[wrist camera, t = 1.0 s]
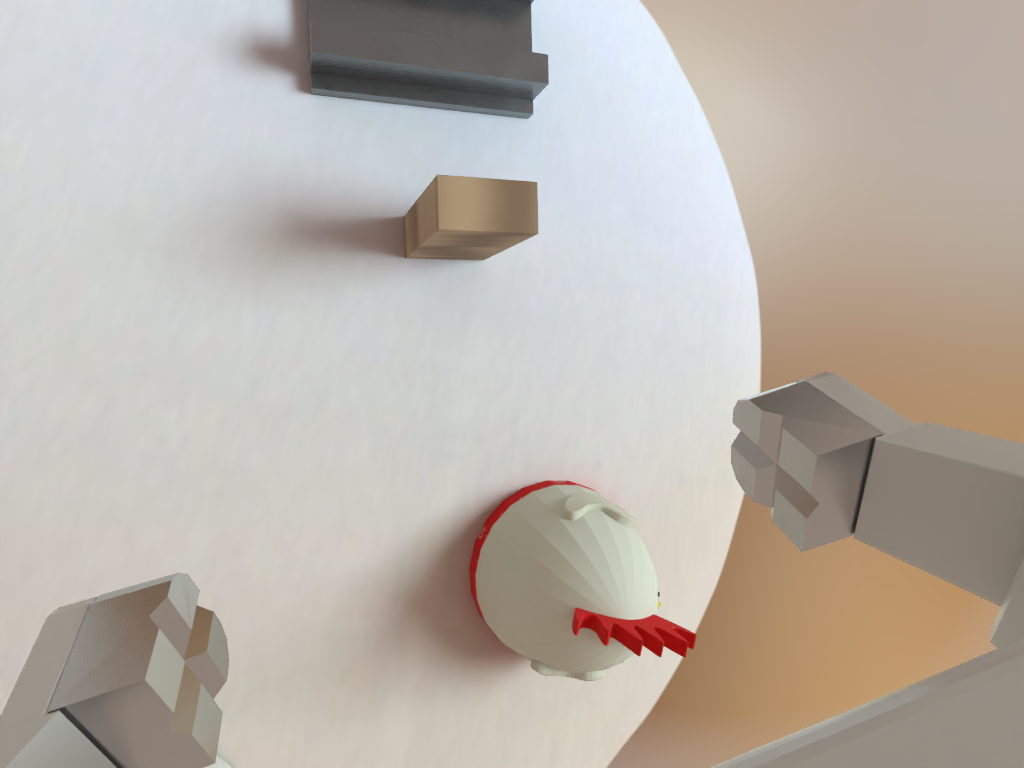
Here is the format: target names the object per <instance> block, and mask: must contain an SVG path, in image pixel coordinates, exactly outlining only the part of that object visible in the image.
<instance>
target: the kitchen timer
mask: <svg viewBox="0 0 1024 768" xmlns="http://www.w3.org/2000/svg"><path fill="white" fill-rule="evenodd" d="M636 522H637V520H636V519H635V518H634V517H633V516H631V515H630V514H629V513H628V512H626V511H625V510H624V509H622V508H621V507H619V506H618V505H616V504H615V503H613V502H611V501H610V500H608V499H606V498H605V497H604V496H603V495H601V494H600V493H598V492H597V491H595V490H593V489H590V488H588V487H585V486H582V485H579V484H576V483H573V482H570V481H544V482H541V483H537V484H534V485H531V486H528V487H524V488H523V489H521V490H520V491H518V492H517V493H515V494H513V495H512V496H510V497H509V498H507V499H506V500H504V501H503V502H502V503H501V504H500V506H499V507H498V508H497V509H496V510H495V511H494V512H493V513H492V514H491V516H490V517H489V518H488V519H487V520H486V522H485V524H484V526H483V528H482V530H481V532H480V534H479V536H478V538H477V540H476V542H475V545H474V550H473V555H472V559H471V564H470V579H471V592H472V595H473V598H474V600H475V603H476V606H477V608H478V611H479V613H480V615H481V617H482V618H483V619H484V621H485V622H486V624H487V625H488V626H489V627H490V629H491V630H492V631H493V632H494V633H495V635H496V636H497V637H498V638H499V640H500V641H501V642H502V643H503V644H505V645H506V646H507V647H509V648H511V649H512V650H514V651H515V652H517V653H519V654H520V655H522V656H524V657H525V658H527V659H529V660H531V661H532V662H531V667H532V669H534V670H535V671H536V672H538V673H540V674H542V675H546V676H565V677H571V678H575V679H580V680H584V681H594V680H598V679H600V678H602V677H603V676H604V674H605V669H608V668H610V667H612V666H615V665H617V664H620V663H622V662H624V661H625V660H626V659H628V658H629V657H630V656H631V655H633V654H634V653H635V654H636V655H638V656H640V655H641V650H642V645H643V646H645V647H646V648H647V649H649V650H650V651H652V652H653V653H654V654H656V655H657V656H659V657H661V655H662V650H663V646H665V647H667V648H668V649H670V650H672V651H674V652H675V653H677V654H679V655H681V656H683V657H686V653H687V648H688V647H689V648H691V649H694V644H695V640H696V634H694V633H692V632H691V631H689V630H687V629H685V628H683V627H680V626H678V625H676V624H674V623H672V622H670V621H667V620H665V619H663V618H661V617H659V616H657V615H656V613H657V610H658V608H659V607H660V605H661V603H660V602H659V601H658V597H659V592H658V580H657V575H656V571H655V568H654V565H653V562H652V559H651V556H650V553H649V551H648V548H647V547H646V545H645V543H644V542H643V540H642V539H641V537H640V536H639V534H638V533H637V531H636V530H635V528H634V527H633V525H634V524H635V523H636Z"/></svg>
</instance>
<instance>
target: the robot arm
mask: <svg viewBox="0 0 1024 768" xmlns="http://www.w3.org/2000/svg"><path fill="white" fill-rule="evenodd" d="M733 423H734V425H735V426H736V427H737V428H738V429H739V430H740V433H739V434H738V436H737V437H736V439H735V440H734V442H733V443H732V445H731V464H732V467H733V470H734V473H735V476H736V479H737V481H738V482H739V484H740V486H741V487H742V489H743V491H744V492H745V493H746V494H747V495H748V496H749V497H750V498H751V499H752V500H753V501H754V502H756V503H759V504H762V505H765V506H768V507H770V508H772V521H773V523H774V524H775V525H776V526H778V528H779V529H780V530H781V531H782V532H783V533H784V534H785V535H786V536H787V537H788V538H789V539H790V540H791V541H792V542H793V543H794V544H795V545H796V546H797V548H798V549H799V550H800V551H801V552H804V551H807V550H810V549H813V548H816V547H819V546H822V545H825V544H828V543H831V542H834V541H837V540H840V539H843V538H846V537H849V536H852V535H854V538H855V539H857V540H859V541H861V542H863V543H865V544H867V545H870V546H872V547H874V548H876V549H878V550H880V551H882V552H885V553H887V554H889V555H891V556H893V557H895V558H898V559H900V560H902V561H904V562H906V563H908V564H911V565H913V566H915V567H917V568H919V569H921V570H923V571H925V572H928V573H930V574H932V575H934V576H937V577H939V578H941V579H943V580H945V581H947V582H949V583H951V584H954V585H956V586H958V587H960V588H962V589H964V590H966V591H969V592H971V593H973V594H975V595H977V596H979V597H981V598H984V599H986V600H988V601H990V602H992V603H994V604H997V605H999V606H1001V609H1000V611H999V614H998V616H997V618H996V620H995V622H994V625H993V627H992V629H991V643H992V644H993V645H995V646H996V647H997V648H998V649H996V650H993V651H991V652H989V653H986V654H984V655H982V656H979V657H977V658H974V659H972V660H969V661H967V662H965V663H962V664H960V665H957V666H955V667H952V668H950V669H947V670H945V671H943V672H940V673H938V674H935V675H933V676H930V677H928V678H926V679H923V680H921V681H919V682H916V683H914V684H911V685H909V686H907V687H904V688H901V689H899V690H897V691H894V692H892V693H889V694H887V695H885V696H882V697H880V698H877V699H875V700H873V701H870V702H868V703H865V704H863V705H861V706H858V707H855V708H853V709H851V710H848V711H846V712H843V713H841V714H839V715H836V716H834V717H831V718H829V719H826V720H824V721H822V722H819V723H817V724H814V725H812V726H809V727H807V728H805V729H802V730H800V731H797V732H795V733H792V734H790V735H788V736H785V737H783V738H780V739H778V740H776V741H773V742H771V743H768V744H766V745H763V746H761V747H759V748H756V749H754V750H752V751H749V752H747V753H744V754H742V755H739V756H737V757H734V758H732V759H730V760H727V761H725V762H722V763H720V764H718V765H715V766H713V767H710V768H1024V444H1023V443H1019V442H1014V441H1010V440H1005V439H1001V438H996V437H992V436H987V435H982V434H978V433H974V432H970V431H965V430H961V429H956V428H952V427H947V426H943V425H938V424H934V423H929V422H923V423H920V424H917V425H916V424H915V423H913V422H912V421H910V420H909V419H907V418H905V417H904V416H902V415H901V414H899V413H898V412H896V411H894V410H893V409H891V408H890V407H888V406H887V405H885V404H883V403H882V402H880V401H879V400H877V399H875V398H874V397H872V396H871V395H869V394H868V393H866V392H865V391H863V390H861V389H860V388H858V387H857V386H855V385H854V384H852V383H850V382H849V381H847V380H846V379H844V378H843V377H841V376H839V375H838V374H835V373H831V372H822V373H819V374H817V375H814V376H810V377H807V378H805V379H801V380H798V381H796V382H795V383H791V384H788V385H785V386H782V387H778V388H775V389H772V390H769V391H766V392H763V393H759V394H756V395H753V396H750V397H747V398H744V399H740V400H738V401H737V403H736V405H735V407H734V411H733ZM198 596H199V589H198V587H197V586H196V585H195V583H194V582H193V581H192V579H191V578H190V576H189V575H188V574H183V573H176V574H172V575H169V576H165V577H162V578H158V579H155V580H151V581H148V582H144V583H141V584H137V585H134V586H130V587H127V588H123V589H120V590H116V591H113V592H109V593H106V594H102V595H100V596H99V597H95V598H91V599H87V600H84V601H81V602H77V603H74V604H70V605H67V606H63V607H60V608H58V609H57V610H55V611H54V612H53V613H52V614H50V615H49V616H48V617H47V619H46V621H45V623H44V625H43V627H42V629H41V631H40V633H39V635H38V638H37V640H36V642H35V644H34V646H33V648H32V650H31V652H30V655H29V657H28V659H27V661H26V663H25V665H24V667H23V670H22V672H21V674H20V676H19V678H18V680H17V682H16V684H15V687H14V689H13V691H12V693H11V695H10V697H9V699H8V702H7V704H6V706H5V708H4V710H3V712H2V714H1V716H0V768H204V767H207V766H210V765H212V764H215V761H216V754H217V747H218V740H219V733H220V726H221V719H222V711H221V710H220V708H219V707H218V705H217V704H216V703H215V701H214V700H213V699H214V698H215V696H216V695H217V693H218V692H219V691H220V689H221V688H222V687H223V685H224V684H225V682H226V681H227V675H228V666H229V655H228V646H227V638H226V636H225V633H224V630H223V627H222V625H221V623H220V621H219V619H218V618H217V616H216V615H215V613H214V612H213V611H211V610H208V609H205V608H202V607H200V606H197V601H198Z"/></svg>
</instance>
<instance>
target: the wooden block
mask: <svg viewBox="0 0 1024 768" xmlns="http://www.w3.org/2000/svg"><path fill="white" fill-rule="evenodd" d="M404 230H405V258H425V259H462V260H485V259H487V258H489V257H491V256H493V255H495V254H497V253H499V252H501V251H503V250H506V249H508V248H510V247H512V246H514V245H516V244H518V243H520V242H522V241H524V240H526V239H528V238H530V237H532V236H534V235H536V234H538V199H537V182H529V181H515V180H502V179H488V178H475V177H462V176H448V175H437V176H436V177H435V178H434V179H433V181H432V182H431V183H430V184H429V186H428V187H427V188H426V190H425V191H424V192H423V193H422V195H421V196H420V197H419V198H418V200H417V201H416V202H415V203H414V205H413V206H412V207H411V208H410V210H409V211H408V212H407V213H406V215H405V216H404Z"/></svg>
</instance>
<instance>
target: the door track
mask: <svg viewBox="0 0 1024 768" xmlns="http://www.w3.org/2000/svg"><path fill="white" fill-rule="evenodd" d="M533 1H534V0H307V9H308V31H309V54H310V76H311V94H314V95H323V96H332V97H341V98H350V99H359V100H368V101H377V102H386V103H394V104H403V105H412V106H421V107H430V108H439V109H448V110H457V111H465V112H474V113H483V114H492V115H501V116H510V117H519V118H529V117H530V116H531V115H532V114H533V100H534V99H535V98H536V96H537V95H538V94H539V93H540V92H541V91H542V90H543V89H544V88H545V87H546V86H547V85H548V55H547V54H540V53H534V52H532V34H531V4H532V2H533Z"/></svg>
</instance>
